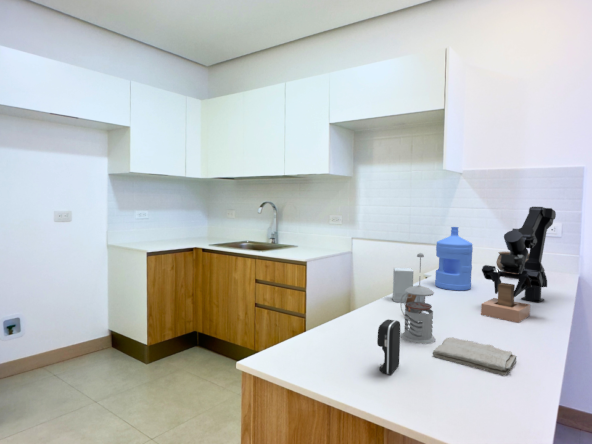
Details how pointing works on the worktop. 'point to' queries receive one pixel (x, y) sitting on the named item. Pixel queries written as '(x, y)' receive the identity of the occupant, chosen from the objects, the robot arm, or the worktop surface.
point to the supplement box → (401, 283)
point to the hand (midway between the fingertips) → (504, 294)
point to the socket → (505, 310)
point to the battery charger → (389, 344)
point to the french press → (418, 315)
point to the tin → (415, 300)
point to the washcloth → (476, 355)
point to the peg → (506, 294)
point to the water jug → (454, 262)
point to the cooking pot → (500, 259)
